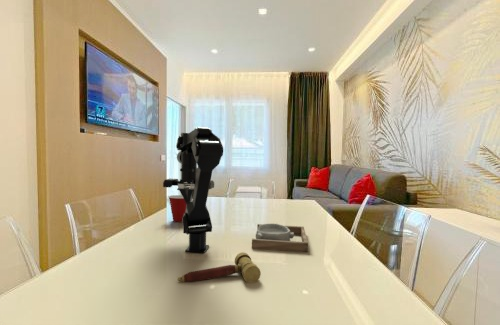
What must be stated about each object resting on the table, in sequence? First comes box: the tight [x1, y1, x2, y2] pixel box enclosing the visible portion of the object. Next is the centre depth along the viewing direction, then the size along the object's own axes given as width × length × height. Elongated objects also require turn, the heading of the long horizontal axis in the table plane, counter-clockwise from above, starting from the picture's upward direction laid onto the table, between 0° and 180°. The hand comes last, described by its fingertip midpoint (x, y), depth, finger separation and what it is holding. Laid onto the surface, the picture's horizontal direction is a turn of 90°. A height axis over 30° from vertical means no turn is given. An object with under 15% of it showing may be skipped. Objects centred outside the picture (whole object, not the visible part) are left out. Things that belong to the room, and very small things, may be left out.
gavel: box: [177, 251, 261, 283], centre depth 72 cm, size 21×5×10 cm
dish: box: [255, 222, 295, 241], centre depth 103 cm, size 14×14×5 cm
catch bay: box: [251, 223, 309, 253], centre depth 103 cm, size 20×19×3 cm
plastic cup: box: [168, 194, 186, 223], centre depth 128 cm, size 11×11×12 cm
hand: (188, 206), depth 104 cm, fingers closed
